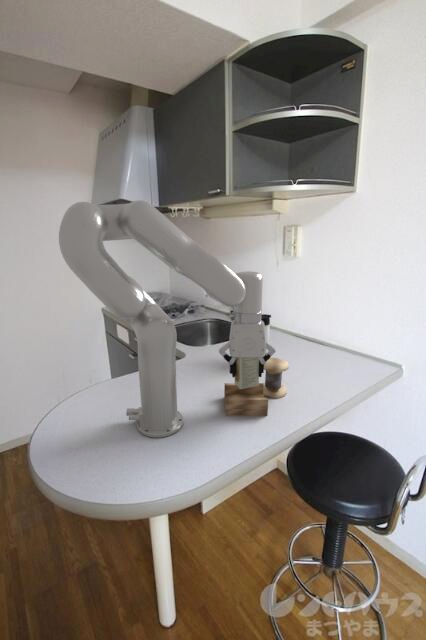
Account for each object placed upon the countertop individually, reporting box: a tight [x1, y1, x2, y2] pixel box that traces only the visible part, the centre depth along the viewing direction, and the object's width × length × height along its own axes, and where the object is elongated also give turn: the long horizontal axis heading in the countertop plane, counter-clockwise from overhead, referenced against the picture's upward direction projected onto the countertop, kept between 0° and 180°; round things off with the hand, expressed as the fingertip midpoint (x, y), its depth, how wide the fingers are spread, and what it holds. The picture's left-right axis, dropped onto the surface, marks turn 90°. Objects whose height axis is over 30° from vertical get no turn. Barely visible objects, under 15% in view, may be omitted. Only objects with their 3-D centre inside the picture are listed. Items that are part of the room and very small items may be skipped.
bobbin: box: [263, 357, 290, 399], centre depth 103 cm, size 9×9×10 cm
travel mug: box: [261, 313, 272, 353], centre depth 122 cm, size 6×7×20 cm
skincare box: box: [234, 351, 260, 389], centre depth 92 cm, size 6×4×12 cm
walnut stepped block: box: [224, 382, 269, 417], centre depth 95 cm, size 12×10×5 cm
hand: (246, 374), depth 93 cm, fingers closed on skincare box, 7 cm apart
